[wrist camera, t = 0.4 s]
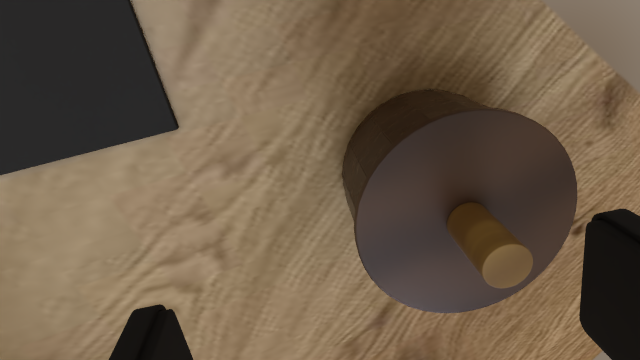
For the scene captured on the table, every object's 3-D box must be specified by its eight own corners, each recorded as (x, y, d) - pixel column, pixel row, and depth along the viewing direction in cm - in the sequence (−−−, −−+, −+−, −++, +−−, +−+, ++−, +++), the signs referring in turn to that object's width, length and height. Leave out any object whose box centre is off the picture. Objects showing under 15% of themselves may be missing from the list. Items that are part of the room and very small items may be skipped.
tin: (311, 150, 32) (321, 195, 24) (455, 55, 30) (516, 70, 23) (391, 263, 37) (422, 331, 29) (520, 185, 35) (591, 236, 27)
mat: (-208, -101, 24) (-218, -103, 23) (63, -173, 24) (59, -177, 23) (-33, 182, 31) (-37, 184, 30) (179, 127, 31) (177, 129, 30)
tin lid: (309, 189, 25) (317, 241, 19) (515, 56, 23) (590, 70, 17) (416, 333, 30) (448, 408, 24) (594, 233, 28) (672, 288, 22)
